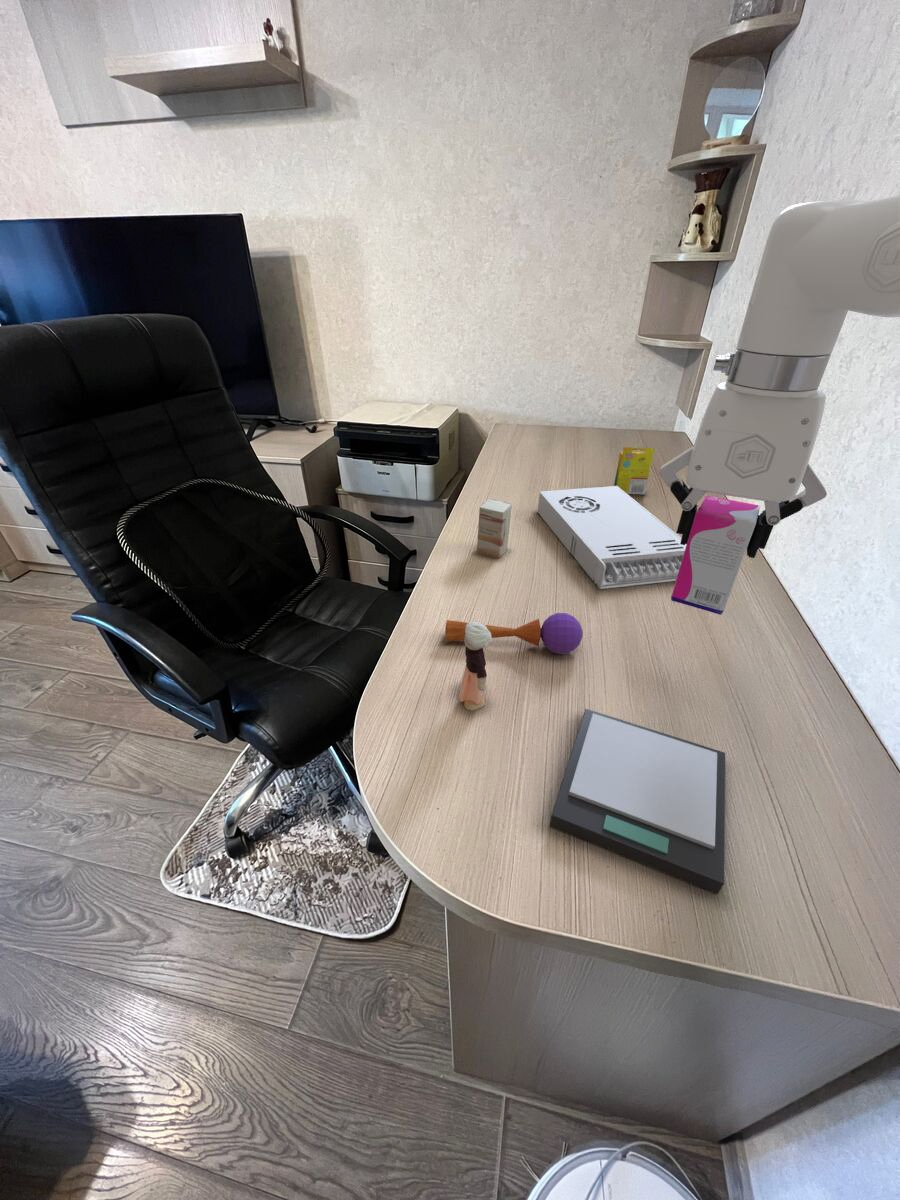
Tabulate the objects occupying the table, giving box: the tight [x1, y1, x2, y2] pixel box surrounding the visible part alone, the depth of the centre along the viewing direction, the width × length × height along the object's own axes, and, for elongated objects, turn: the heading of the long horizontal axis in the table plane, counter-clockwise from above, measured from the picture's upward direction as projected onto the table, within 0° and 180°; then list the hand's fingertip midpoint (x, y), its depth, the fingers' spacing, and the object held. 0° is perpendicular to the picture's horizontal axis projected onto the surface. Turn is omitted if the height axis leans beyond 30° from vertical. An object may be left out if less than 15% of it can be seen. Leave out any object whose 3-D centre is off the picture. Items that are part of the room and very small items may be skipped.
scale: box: [549, 708, 726, 895], centre depth 54 cm, size 16×16×3 cm
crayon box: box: [613, 446, 655, 496], centre depth 122 cm, size 7×3×12 cm, turn 84°
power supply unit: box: [537, 485, 687, 590], centre depth 102 cm, size 19×33×5 cm, turn 11°
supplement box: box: [670, 495, 761, 616], centre depth 57 cm, size 6×6×12 cm
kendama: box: [444, 612, 583, 655], centre depth 74 cm, size 6×6×20 cm
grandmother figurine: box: [458, 620, 493, 712], centre depth 63 cm, size 8×4×13 cm, turn 21°
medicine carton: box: [476, 498, 513, 560], centre depth 97 cm, size 5×4×10 cm
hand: (717, 544), depth 56 cm, fingers closed on supplement box, 6 cm apart
